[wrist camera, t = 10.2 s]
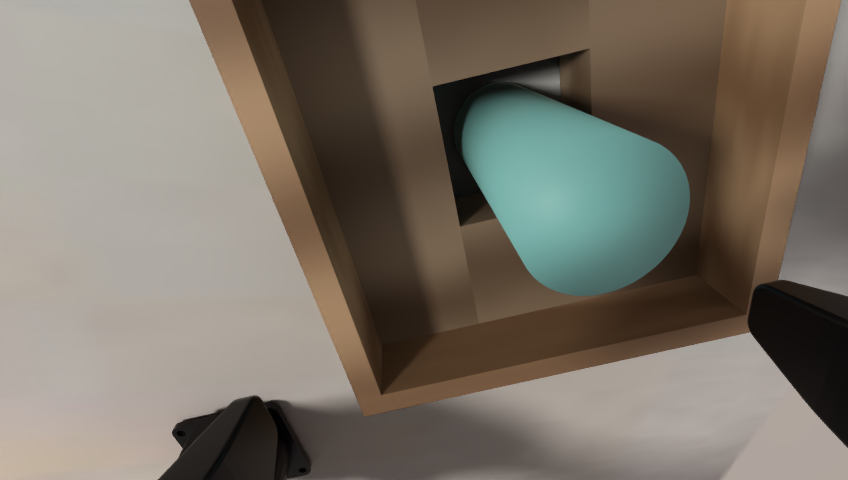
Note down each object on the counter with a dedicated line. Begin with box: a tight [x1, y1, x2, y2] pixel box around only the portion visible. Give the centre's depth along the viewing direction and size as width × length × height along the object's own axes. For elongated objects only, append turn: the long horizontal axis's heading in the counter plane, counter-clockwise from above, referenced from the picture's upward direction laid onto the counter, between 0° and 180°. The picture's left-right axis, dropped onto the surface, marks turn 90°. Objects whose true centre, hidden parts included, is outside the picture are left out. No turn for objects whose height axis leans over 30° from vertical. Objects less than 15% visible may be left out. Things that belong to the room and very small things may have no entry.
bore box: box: [189, 0, 841, 417], centre depth 16 cm, size 18×17×6 cm
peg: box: [454, 82, 690, 296], centre depth 14 cm, size 4×4×10 cm
